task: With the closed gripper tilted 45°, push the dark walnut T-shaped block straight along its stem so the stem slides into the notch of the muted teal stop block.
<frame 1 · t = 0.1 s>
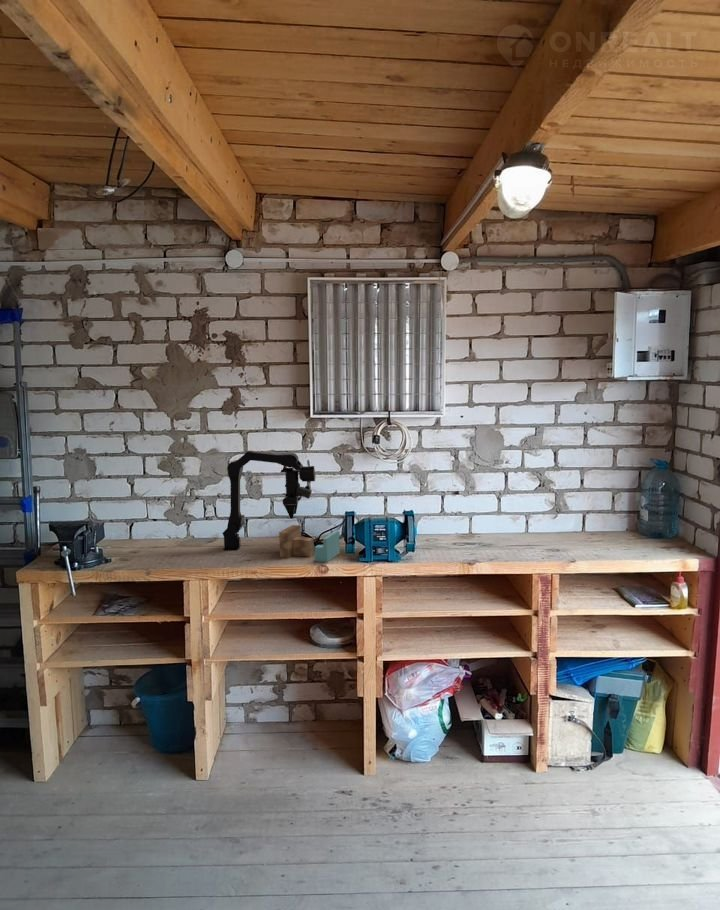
hand: (293, 516, 283), 14 cm above the table, fingers open, 9 cm apart
walnut t block: (299, 554, 274), on the table
teal stop block: (328, 556, 270), on the table
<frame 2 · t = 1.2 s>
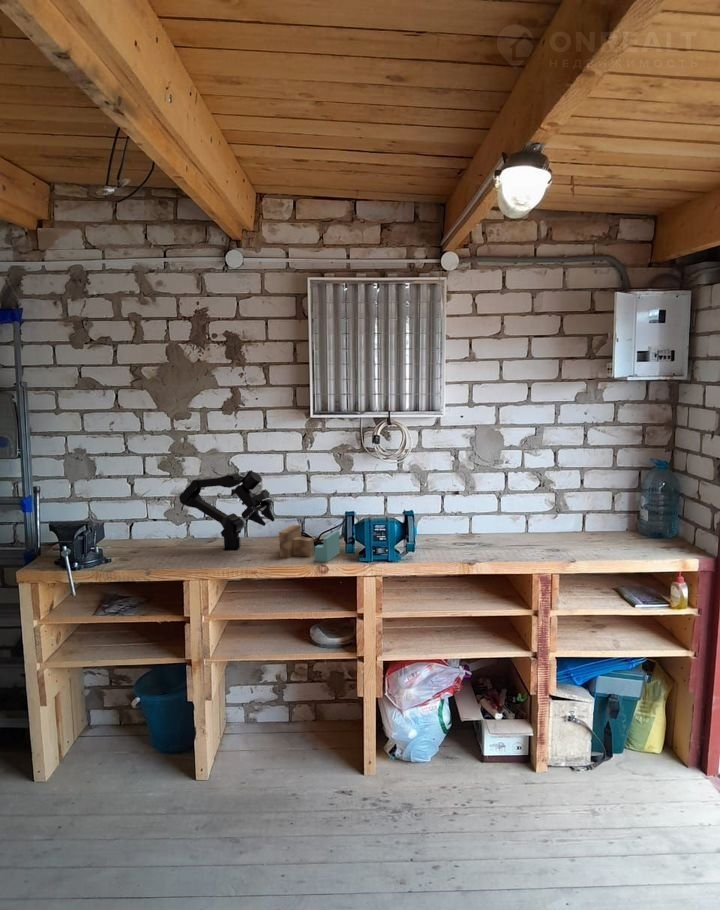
hand: (269, 523, 278), 13 cm above the table, fingers open, 8 cm apart
nothing on the table moved.
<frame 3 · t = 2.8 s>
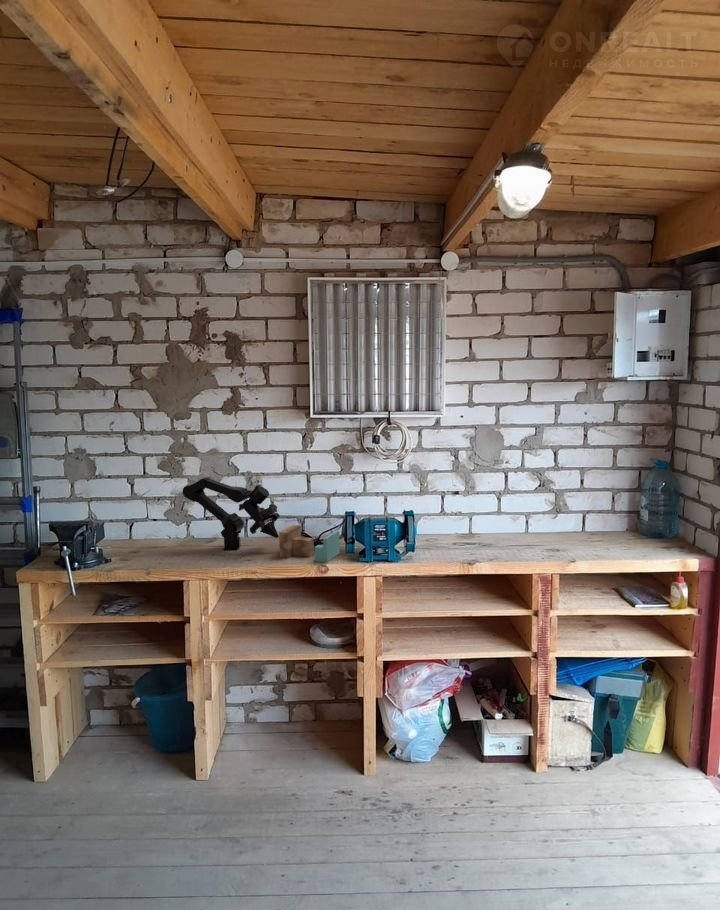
hand: (277, 537, 277), 7 cm above the table, fingers closed
nothing on the table moved.
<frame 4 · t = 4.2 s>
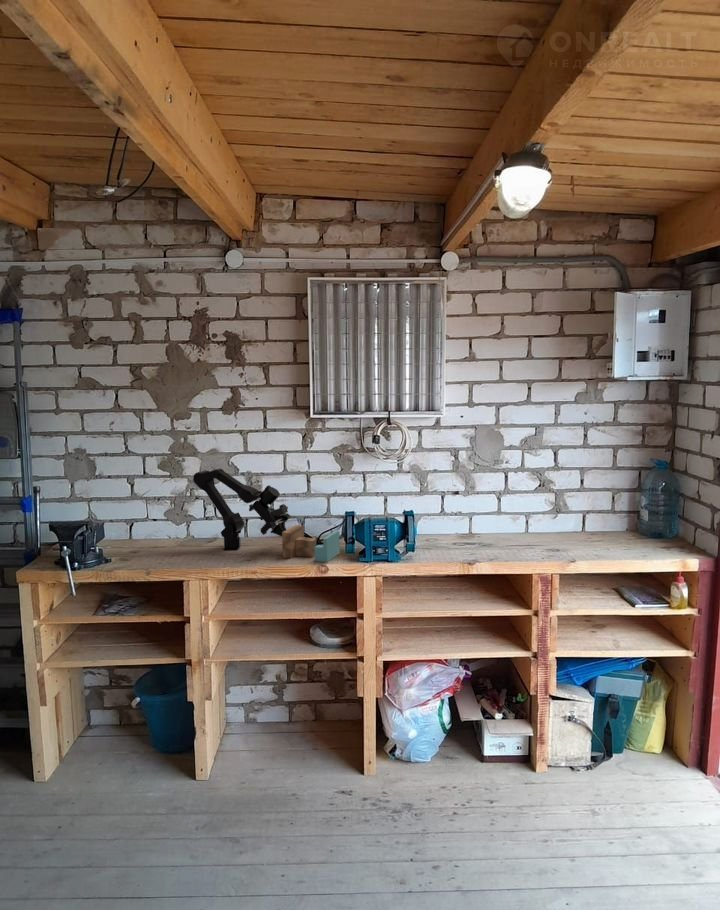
hand: (288, 537, 275), 7 cm above the table, fingers closed
walnut t block: (302, 554, 274), on the table
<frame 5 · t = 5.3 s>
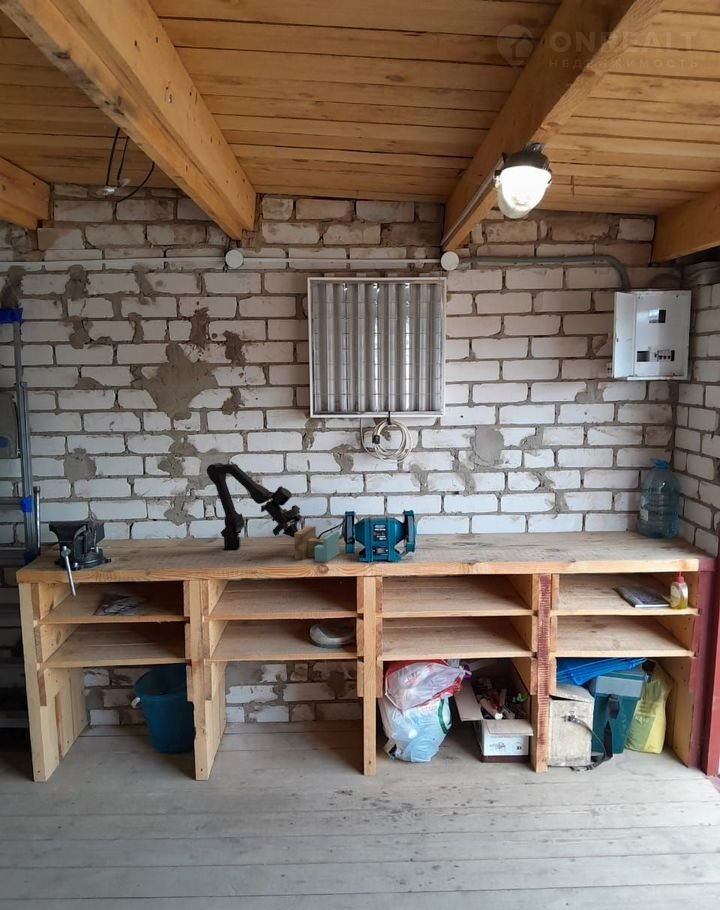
hand: (300, 539, 273), 7 cm above the table, fingers closed, pressing on walnut t block
walnut t block: (314, 555, 272), on the table, touching gripper
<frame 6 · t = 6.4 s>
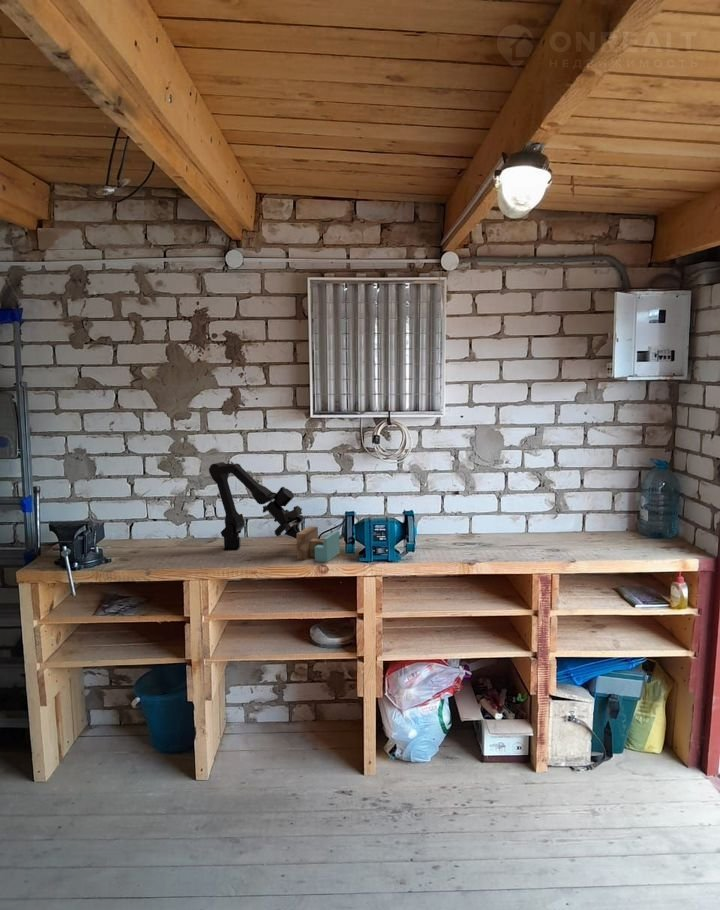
hand: (302, 539, 273), 7 cm above the table, fingers closed
walnut t block: (316, 555, 272), on the table
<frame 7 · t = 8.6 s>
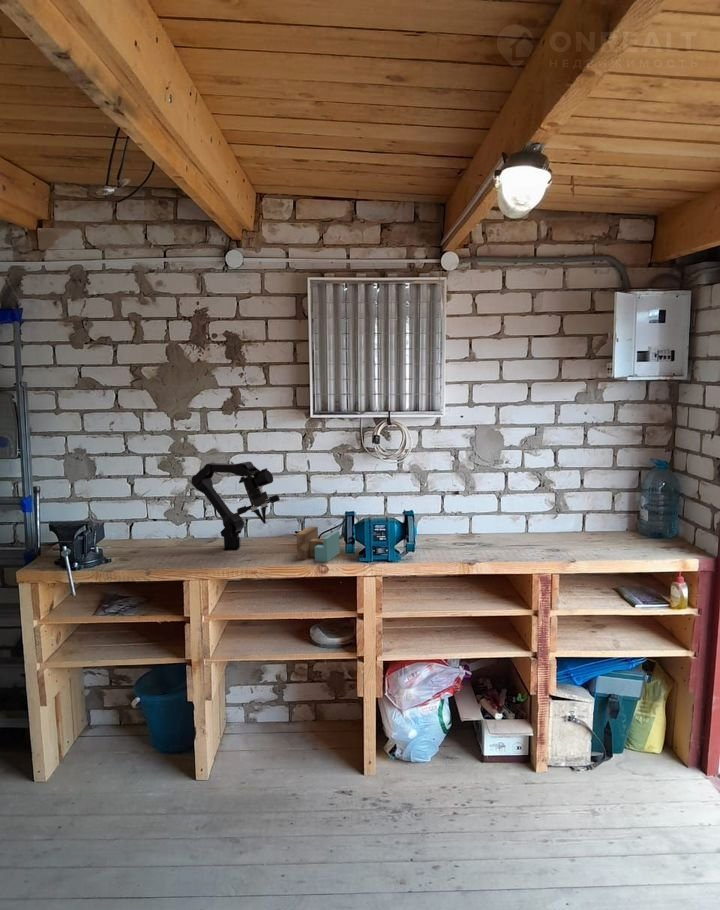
hand: (264, 523, 277), 13 cm above the table, fingers closed
nothing on the table moved.
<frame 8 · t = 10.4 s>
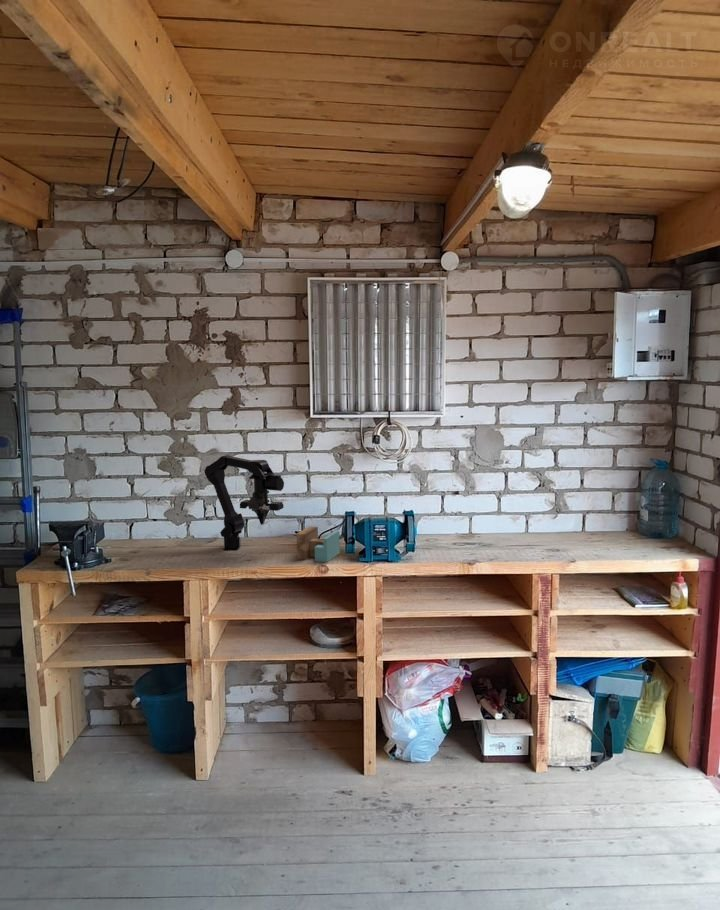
hand: (262, 524, 277), 12 cm above the table, fingers closed
nothing on the table moved.
at the end: walnut t block 1.0 cm from the target spot on the table beside the teal stop block, on the table; walnut t block tilted 0° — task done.
